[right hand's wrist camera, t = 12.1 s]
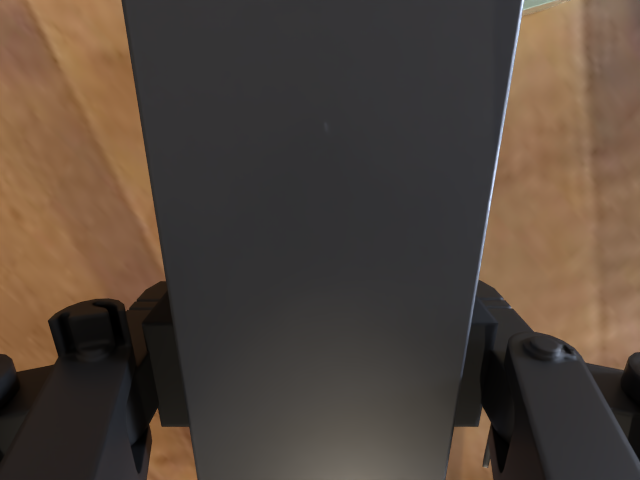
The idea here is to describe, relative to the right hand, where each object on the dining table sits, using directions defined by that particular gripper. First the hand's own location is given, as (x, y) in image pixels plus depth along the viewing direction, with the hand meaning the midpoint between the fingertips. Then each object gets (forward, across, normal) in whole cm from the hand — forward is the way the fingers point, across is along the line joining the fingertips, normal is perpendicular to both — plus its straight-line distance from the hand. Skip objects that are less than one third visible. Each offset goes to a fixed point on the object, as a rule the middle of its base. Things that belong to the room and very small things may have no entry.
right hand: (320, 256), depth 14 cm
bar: (+1, 0, -15) cm, 15 cm away
